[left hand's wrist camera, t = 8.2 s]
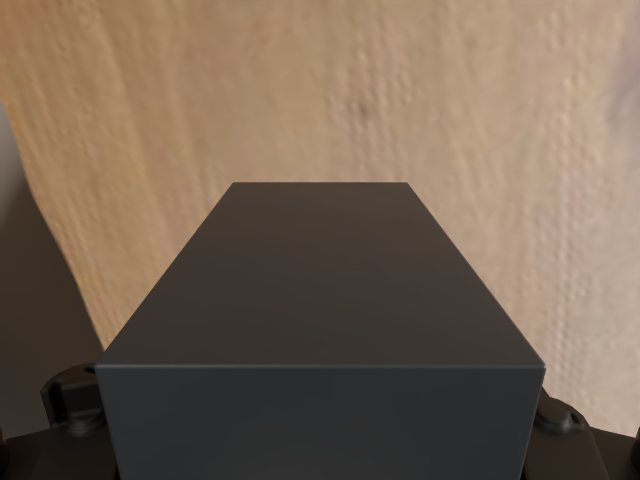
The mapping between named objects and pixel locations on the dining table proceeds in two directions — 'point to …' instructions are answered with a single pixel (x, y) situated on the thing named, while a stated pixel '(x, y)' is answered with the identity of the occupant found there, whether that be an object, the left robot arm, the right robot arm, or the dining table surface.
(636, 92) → the dining table surface
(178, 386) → the beam
